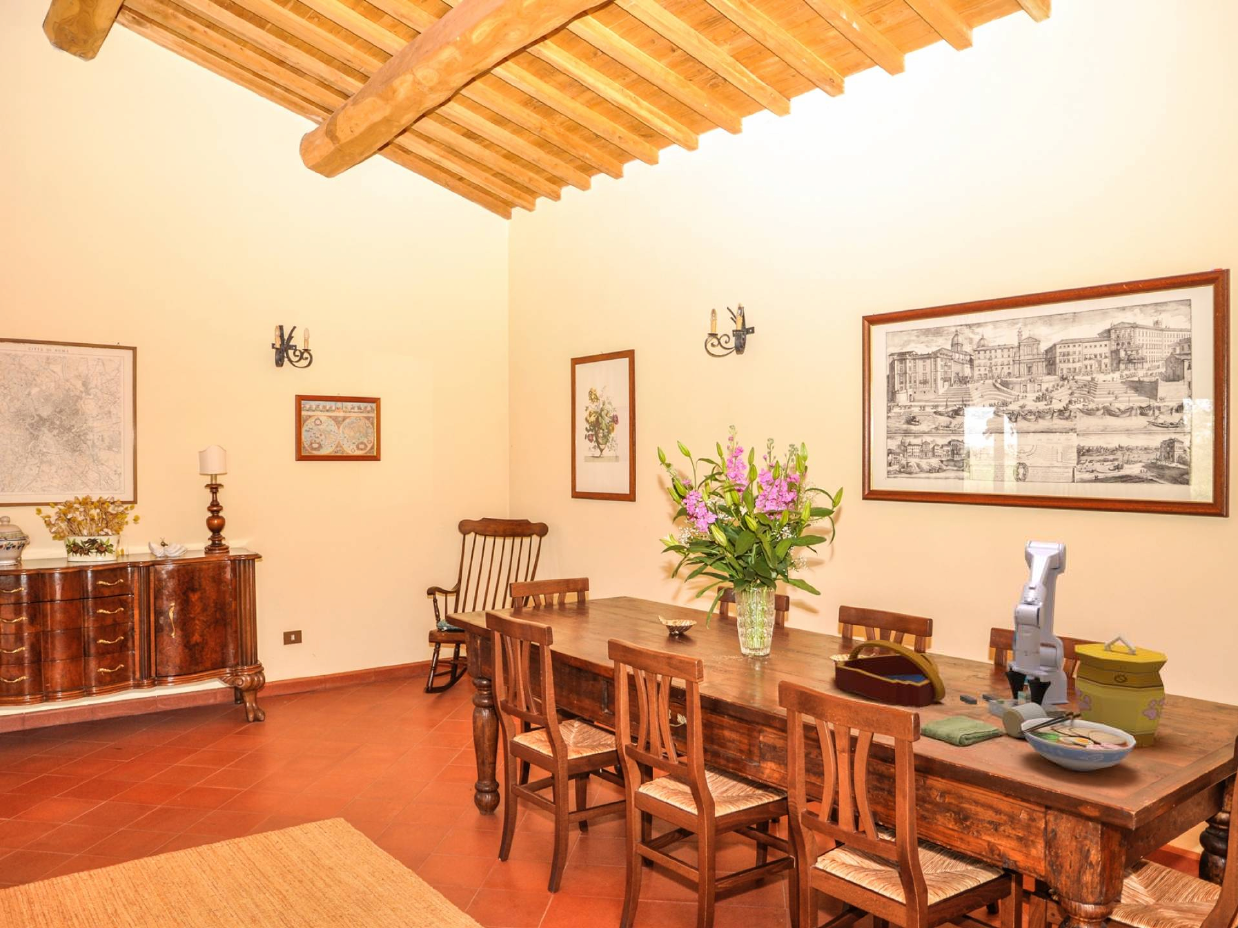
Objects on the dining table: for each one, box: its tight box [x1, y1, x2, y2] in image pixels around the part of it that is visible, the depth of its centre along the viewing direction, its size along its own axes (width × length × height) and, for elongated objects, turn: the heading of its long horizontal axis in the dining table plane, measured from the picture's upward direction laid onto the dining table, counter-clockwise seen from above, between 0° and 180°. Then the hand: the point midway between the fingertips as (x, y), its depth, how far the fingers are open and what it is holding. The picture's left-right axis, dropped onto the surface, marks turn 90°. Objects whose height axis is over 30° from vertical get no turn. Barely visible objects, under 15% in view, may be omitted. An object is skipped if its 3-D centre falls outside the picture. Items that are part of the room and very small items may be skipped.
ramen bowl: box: [1017, 711, 1136, 772], centre depth 204 cm, size 25×23×8 cm
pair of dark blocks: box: [959, 693, 1000, 705], centre depth 256 cm, size 9×5×1 cm, turn 102°
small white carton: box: [1018, 690, 1031, 706], centre depth 241 cm, size 4×3×6 cm
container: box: [1074, 633, 1168, 748], centre depth 226 cm, size 21×21×25 cm
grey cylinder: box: [1001, 703, 1048, 739], centre depth 224 cm, size 11×8×8 cm
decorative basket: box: [834, 639, 946, 709], centre depth 265 cm, size 34×29×15 cm
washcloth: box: [920, 715, 1004, 747], centre depth 225 cm, size 13×18×3 cm
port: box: [988, 698, 1067, 719], centre depth 241 cm, size 14×12×4 cm
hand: (1026, 702), depth 241 cm, fingers open, 7 cm apart
